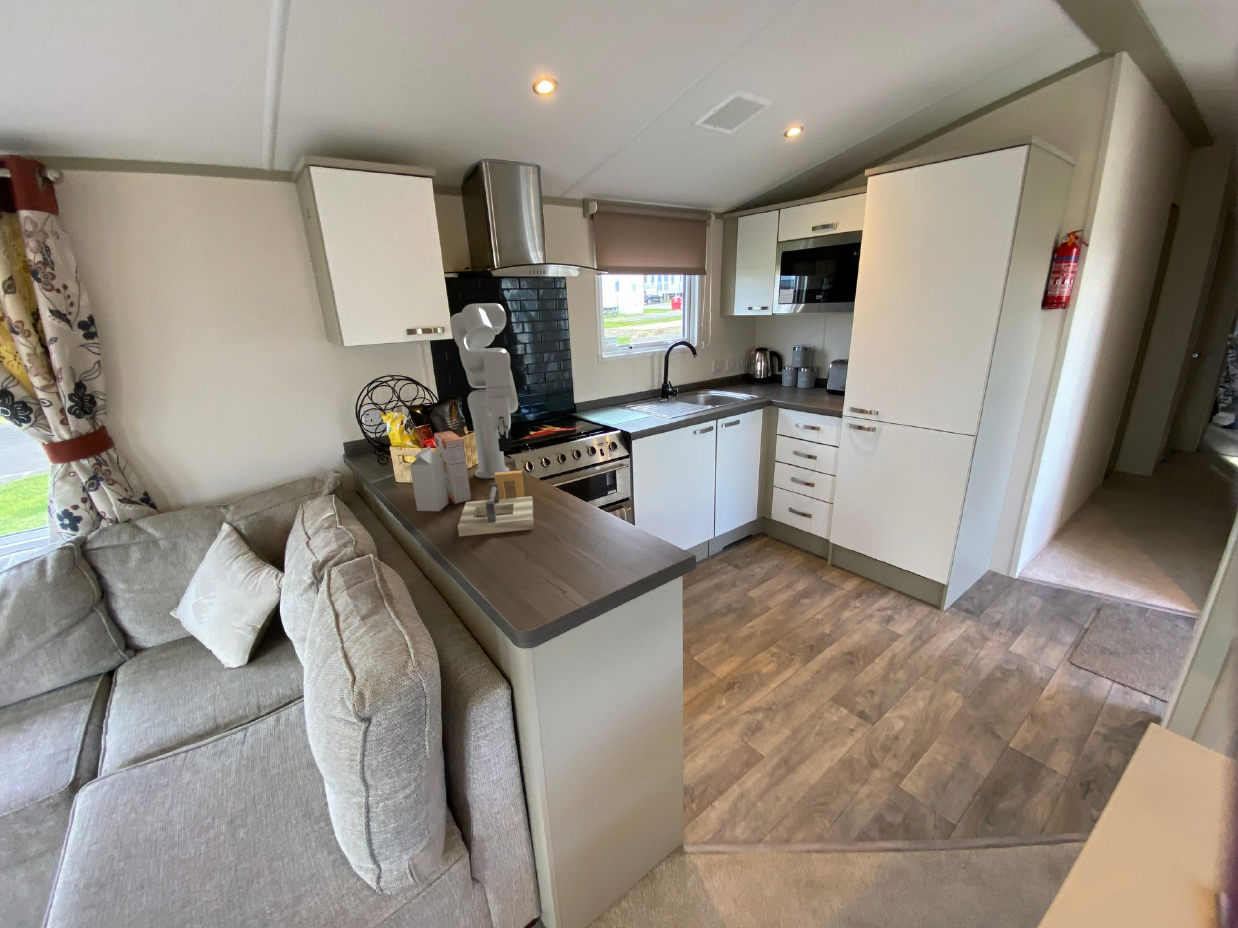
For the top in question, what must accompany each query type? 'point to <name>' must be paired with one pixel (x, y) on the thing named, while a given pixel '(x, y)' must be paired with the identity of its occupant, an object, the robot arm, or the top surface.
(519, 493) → the tan wooden block
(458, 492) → the cracker box
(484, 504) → the square frame with handle
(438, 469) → the milk carton
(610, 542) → the top surface
